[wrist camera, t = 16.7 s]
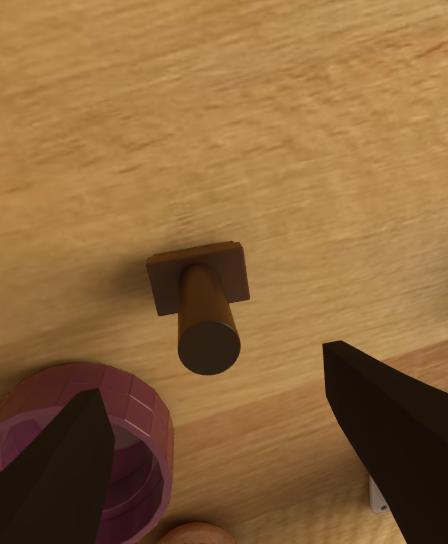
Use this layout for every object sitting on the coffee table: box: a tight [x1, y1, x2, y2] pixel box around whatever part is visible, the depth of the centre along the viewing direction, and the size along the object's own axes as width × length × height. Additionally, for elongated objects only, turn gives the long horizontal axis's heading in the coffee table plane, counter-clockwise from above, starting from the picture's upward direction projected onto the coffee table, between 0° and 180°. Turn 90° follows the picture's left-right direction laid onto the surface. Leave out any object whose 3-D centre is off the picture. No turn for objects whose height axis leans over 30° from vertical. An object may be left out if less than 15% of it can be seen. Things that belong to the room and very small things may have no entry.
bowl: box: [0, 363, 174, 544], centre depth 22 cm, size 11×11×4 cm
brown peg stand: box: [146, 241, 250, 375], centre depth 17 cm, size 5×3×9 cm, turn 99°
